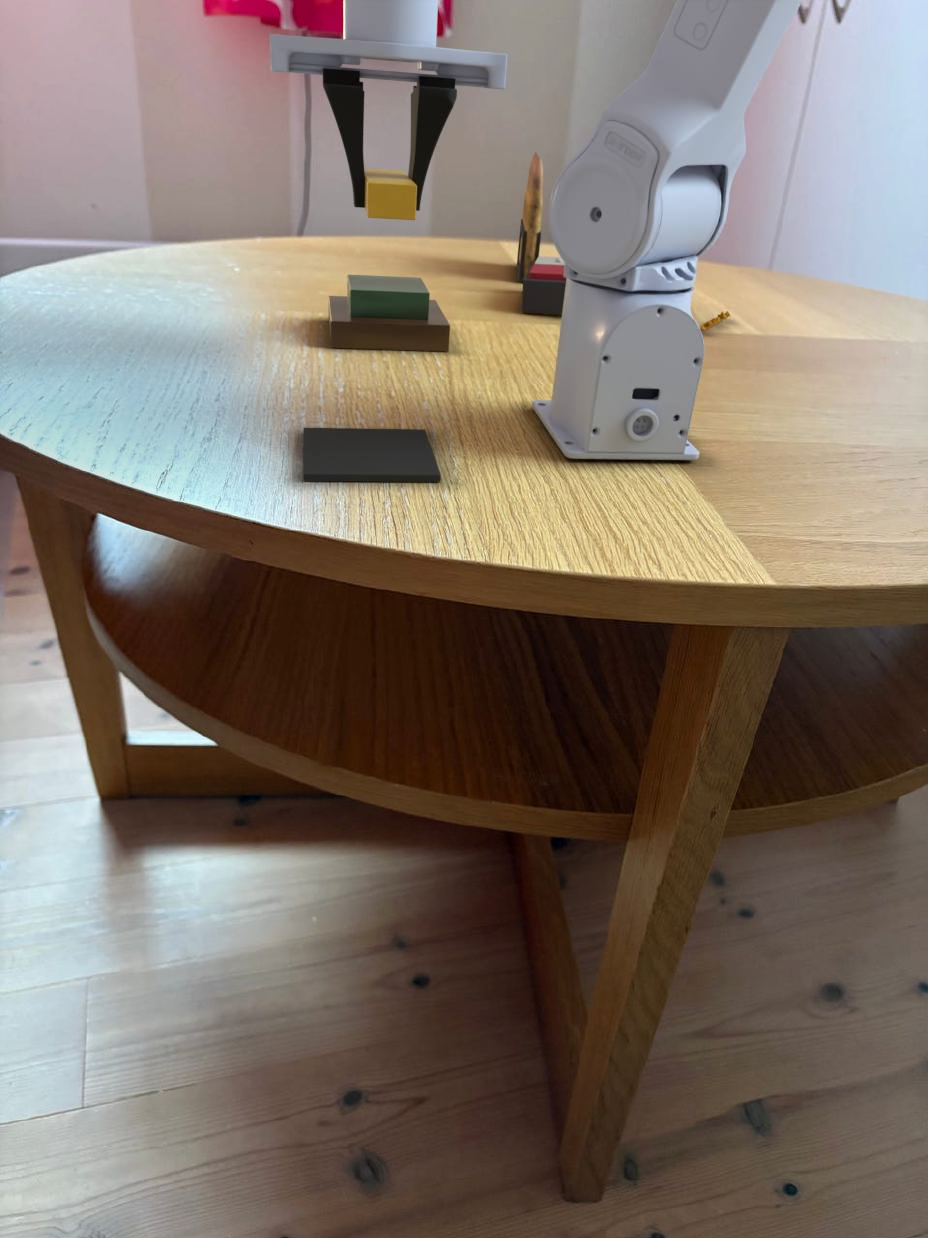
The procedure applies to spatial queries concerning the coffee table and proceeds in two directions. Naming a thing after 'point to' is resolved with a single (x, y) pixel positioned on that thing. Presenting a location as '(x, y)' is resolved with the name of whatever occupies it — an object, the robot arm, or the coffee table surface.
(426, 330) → the stepped green brown block
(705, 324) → the keychain
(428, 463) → the mat
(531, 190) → the ammunition clip
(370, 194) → the bar
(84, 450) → the coffee table surface
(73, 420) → the coffee table surface
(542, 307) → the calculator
